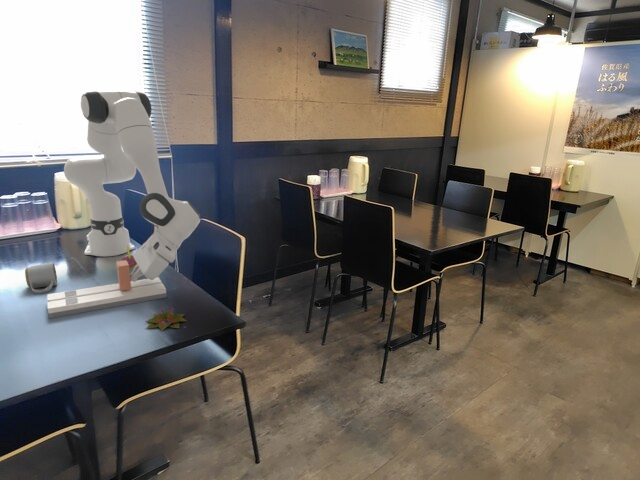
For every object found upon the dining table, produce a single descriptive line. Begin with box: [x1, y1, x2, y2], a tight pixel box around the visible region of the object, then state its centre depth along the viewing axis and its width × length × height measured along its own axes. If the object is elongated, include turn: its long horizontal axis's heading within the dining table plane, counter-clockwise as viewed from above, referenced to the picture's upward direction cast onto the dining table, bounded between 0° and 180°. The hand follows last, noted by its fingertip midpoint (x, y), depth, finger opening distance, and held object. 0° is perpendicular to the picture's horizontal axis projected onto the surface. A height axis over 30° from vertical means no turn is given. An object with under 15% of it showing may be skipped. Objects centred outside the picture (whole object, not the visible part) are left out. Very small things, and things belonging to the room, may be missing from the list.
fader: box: [115, 260, 131, 291], centre depth 134 cm, size 5×3×10 cm, turn 31°
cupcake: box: [120, 246, 137, 274], centre depth 153 cm, size 9×8×12 cm
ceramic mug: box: [24, 261, 58, 294], centre depth 140 cm, size 11×8×8 cm
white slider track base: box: [46, 276, 167, 319], centre depth 133 cm, size 11×32×3 cm, turn 121°
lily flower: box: [145, 306, 187, 332], centre depth 122 cm, size 12×12×5 cm
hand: (131, 279), depth 136 cm, fingers closed, pressing on fader
